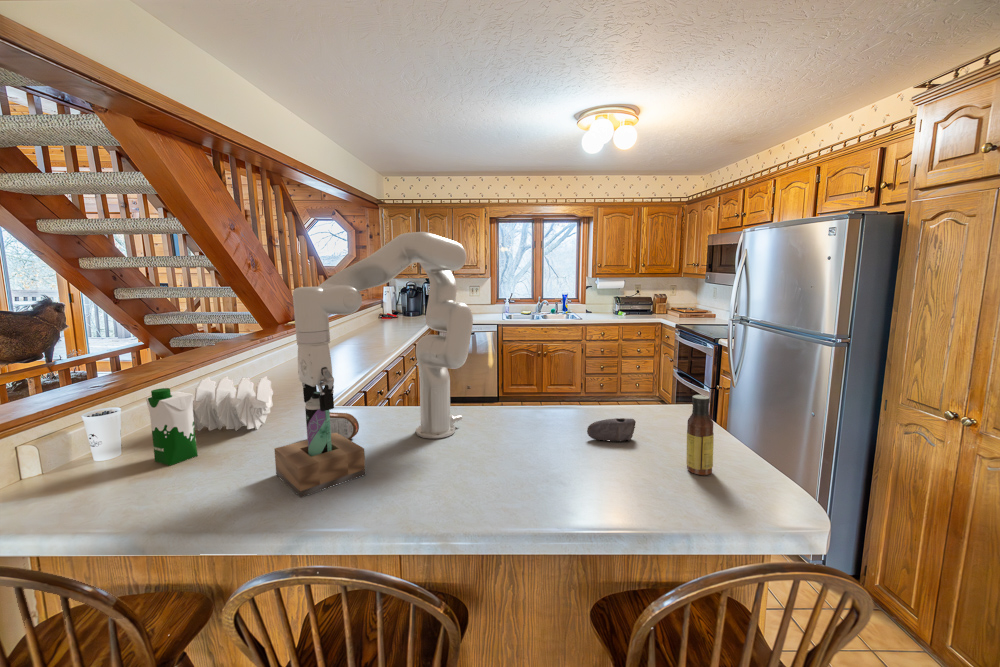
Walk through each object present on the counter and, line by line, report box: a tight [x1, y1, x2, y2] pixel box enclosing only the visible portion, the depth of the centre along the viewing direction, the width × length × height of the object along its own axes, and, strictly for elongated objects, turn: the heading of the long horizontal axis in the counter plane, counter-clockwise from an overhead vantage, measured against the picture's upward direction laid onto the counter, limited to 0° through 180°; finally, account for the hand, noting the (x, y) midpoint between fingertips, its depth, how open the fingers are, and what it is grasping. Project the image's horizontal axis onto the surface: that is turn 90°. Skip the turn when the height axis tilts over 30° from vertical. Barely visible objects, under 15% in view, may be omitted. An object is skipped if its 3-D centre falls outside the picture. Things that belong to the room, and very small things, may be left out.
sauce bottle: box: [686, 394, 715, 476], centre depth 111 cm, size 7×6×20 cm
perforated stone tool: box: [586, 417, 636, 442], centre depth 133 cm, size 15×5×7 cm, turn 86°
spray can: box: [304, 391, 332, 457], centre depth 109 cm, size 6×6×20 cm
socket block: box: [273, 433, 366, 498], centre depth 109 cm, size 16×16×7 cm
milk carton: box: [145, 387, 198, 467], centre depth 118 cm, size 9×9×20 cm
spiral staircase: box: [193, 375, 274, 432], centre depth 142 cm, size 18×18×25 cm
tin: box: [329, 411, 360, 441], centre depth 133 cm, size 15×3×8 cm, turn 84°
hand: (318, 405), depth 108 cm, fingers open, 9 cm apart
